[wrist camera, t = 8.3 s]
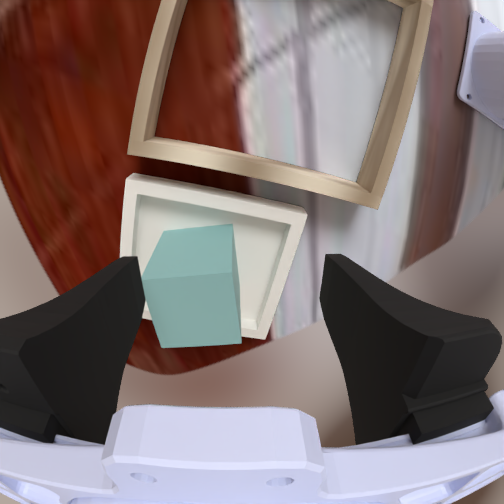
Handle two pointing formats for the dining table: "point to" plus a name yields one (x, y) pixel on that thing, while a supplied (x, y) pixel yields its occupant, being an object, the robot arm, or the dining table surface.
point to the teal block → (194, 287)
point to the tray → (218, 213)
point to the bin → (361, 192)
